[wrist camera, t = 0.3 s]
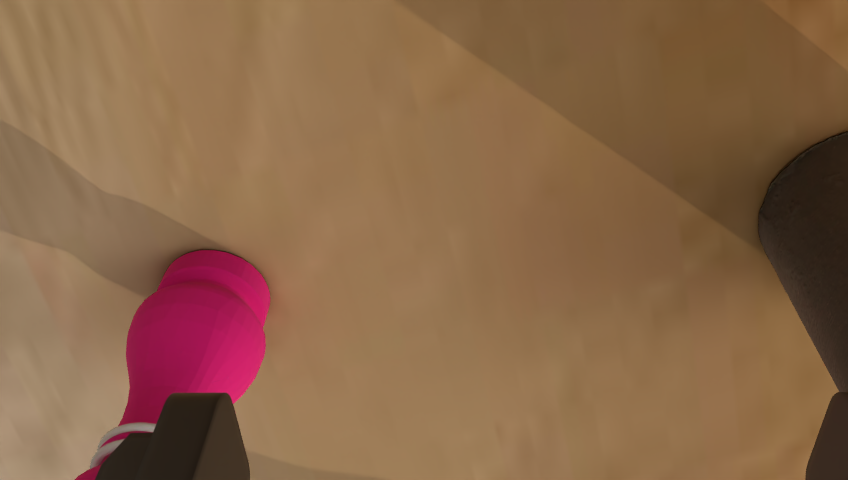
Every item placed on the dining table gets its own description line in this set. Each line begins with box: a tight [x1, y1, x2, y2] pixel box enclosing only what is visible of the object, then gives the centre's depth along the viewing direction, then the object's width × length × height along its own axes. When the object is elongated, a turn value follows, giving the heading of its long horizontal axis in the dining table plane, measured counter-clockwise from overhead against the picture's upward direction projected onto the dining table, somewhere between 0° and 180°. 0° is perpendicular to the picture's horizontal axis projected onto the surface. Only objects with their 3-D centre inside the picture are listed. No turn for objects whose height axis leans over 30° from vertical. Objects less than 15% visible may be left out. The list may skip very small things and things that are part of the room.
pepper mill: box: [75, 250, 270, 480], centre depth 39 cm, size 7×7×20 cm
